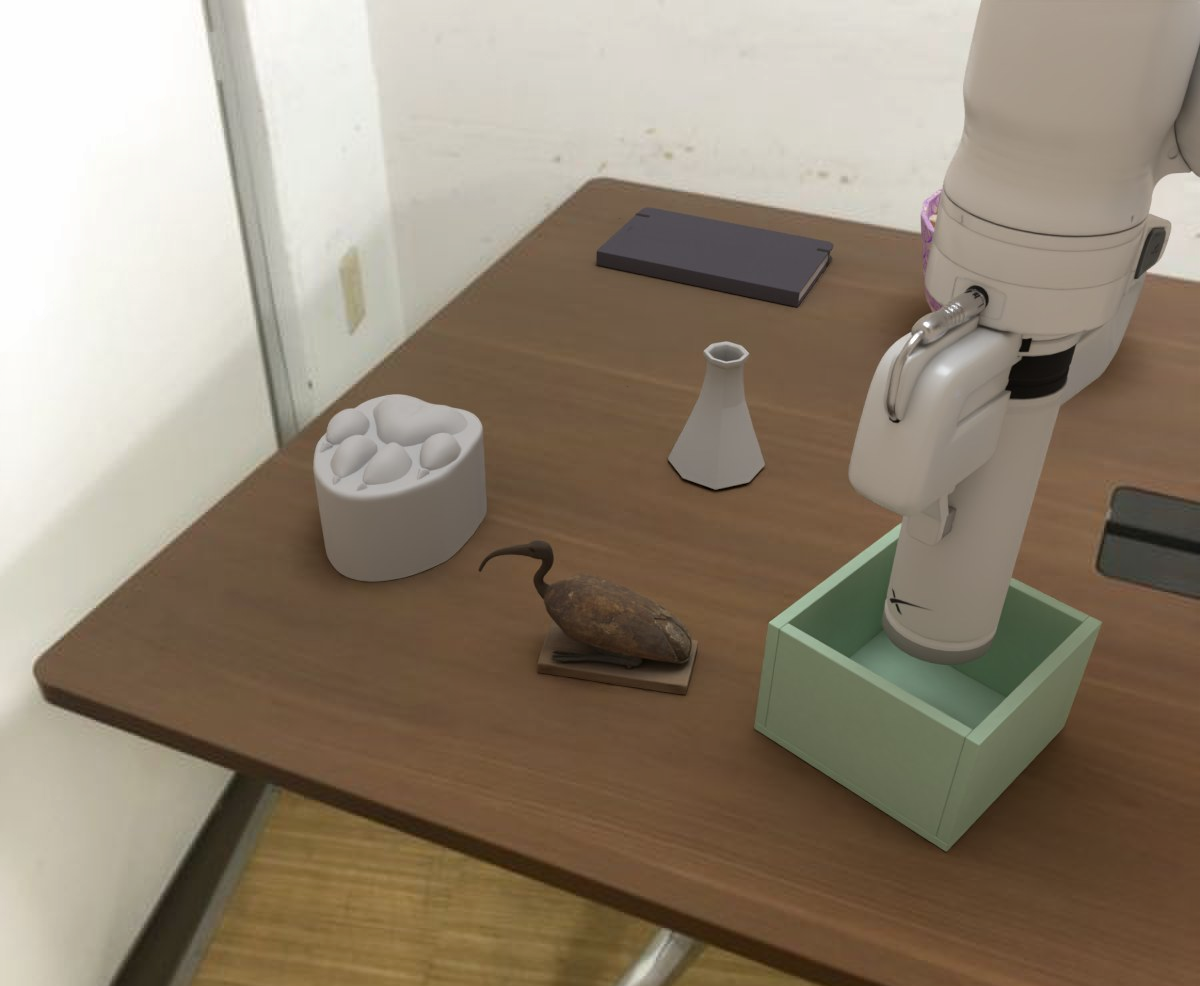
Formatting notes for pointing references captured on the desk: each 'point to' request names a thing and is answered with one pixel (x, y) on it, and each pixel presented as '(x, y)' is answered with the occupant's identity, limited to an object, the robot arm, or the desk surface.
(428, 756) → the desk surface
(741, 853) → the desk surface
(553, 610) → the figurine
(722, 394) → the flask
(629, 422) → the desk surface
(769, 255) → the notebook
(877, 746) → the open-topped box
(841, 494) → the desk surface
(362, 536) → the lumpy-topped squat cylinder
